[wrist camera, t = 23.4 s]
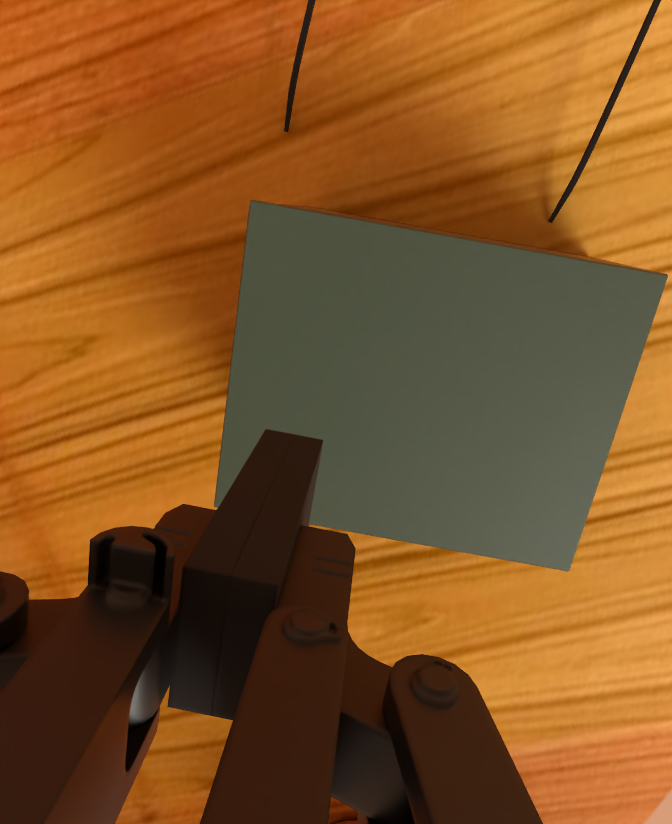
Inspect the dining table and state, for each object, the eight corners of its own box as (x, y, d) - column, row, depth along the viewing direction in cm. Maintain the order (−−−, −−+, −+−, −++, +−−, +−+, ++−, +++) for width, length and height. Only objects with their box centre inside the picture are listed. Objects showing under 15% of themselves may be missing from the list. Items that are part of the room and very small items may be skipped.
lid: (218, 499, 27) (213, 507, 26) (254, 200, 23) (249, 199, 22) (563, 562, 27) (569, 572, 26) (659, 272, 23) (669, 274, 22)
